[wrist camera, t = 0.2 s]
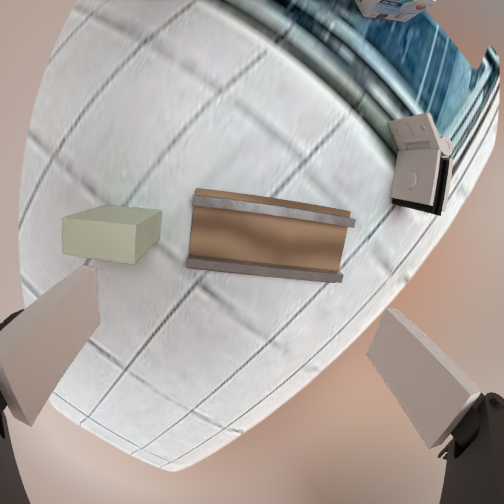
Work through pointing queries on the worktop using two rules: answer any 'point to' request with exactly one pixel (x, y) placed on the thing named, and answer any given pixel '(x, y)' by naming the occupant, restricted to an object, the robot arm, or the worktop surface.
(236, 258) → the track
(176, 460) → the worktop surface
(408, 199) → the hinge
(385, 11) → the light bulb box
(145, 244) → the door panel
